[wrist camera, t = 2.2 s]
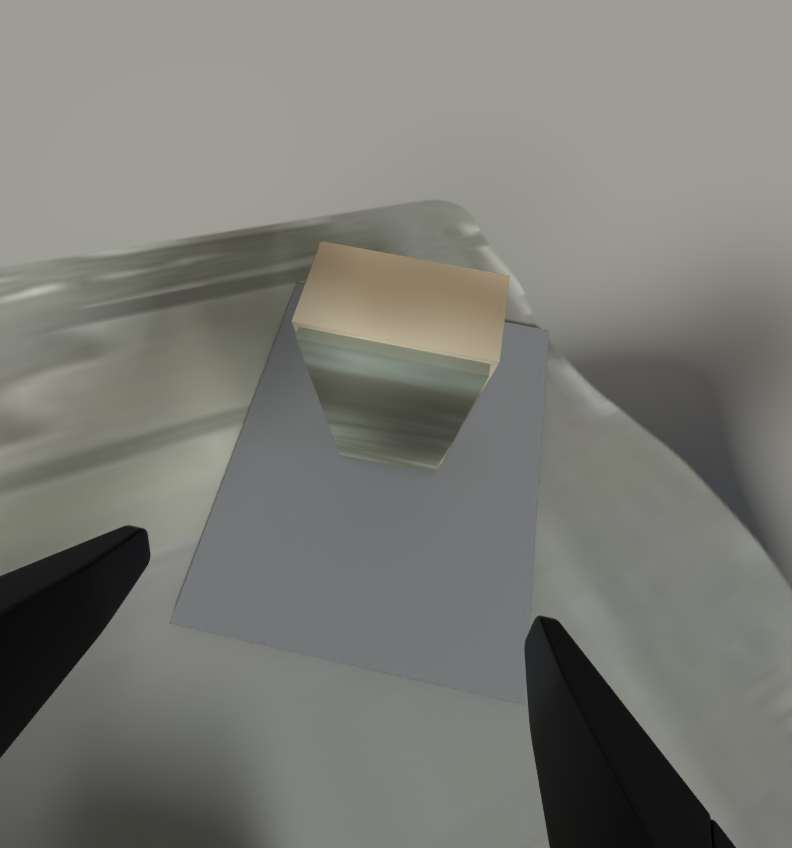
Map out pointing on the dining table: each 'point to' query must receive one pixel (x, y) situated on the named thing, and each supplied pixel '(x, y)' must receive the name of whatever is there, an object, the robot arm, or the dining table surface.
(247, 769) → the dining table surface
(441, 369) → the brown rectangular block
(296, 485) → the rubber mat
